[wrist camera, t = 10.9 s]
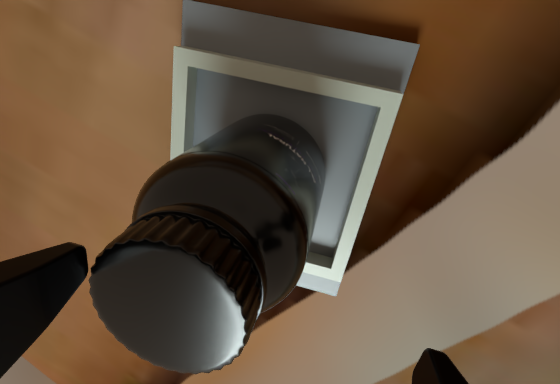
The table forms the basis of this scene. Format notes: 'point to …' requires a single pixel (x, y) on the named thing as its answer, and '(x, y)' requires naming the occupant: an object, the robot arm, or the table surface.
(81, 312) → the table surface
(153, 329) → the supplement bottle
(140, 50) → the table surface
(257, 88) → the coaster tray
